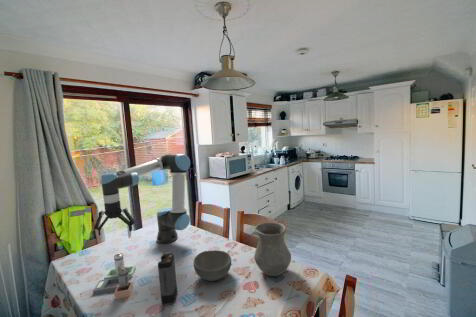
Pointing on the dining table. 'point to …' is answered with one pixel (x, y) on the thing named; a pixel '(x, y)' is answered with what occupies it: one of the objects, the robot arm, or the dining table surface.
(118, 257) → the cell
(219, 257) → the bowl
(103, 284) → the cradle
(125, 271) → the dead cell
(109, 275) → the trough
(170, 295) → the electronic device
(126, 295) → the orange open box
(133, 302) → the dining table surface
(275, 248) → the vase
